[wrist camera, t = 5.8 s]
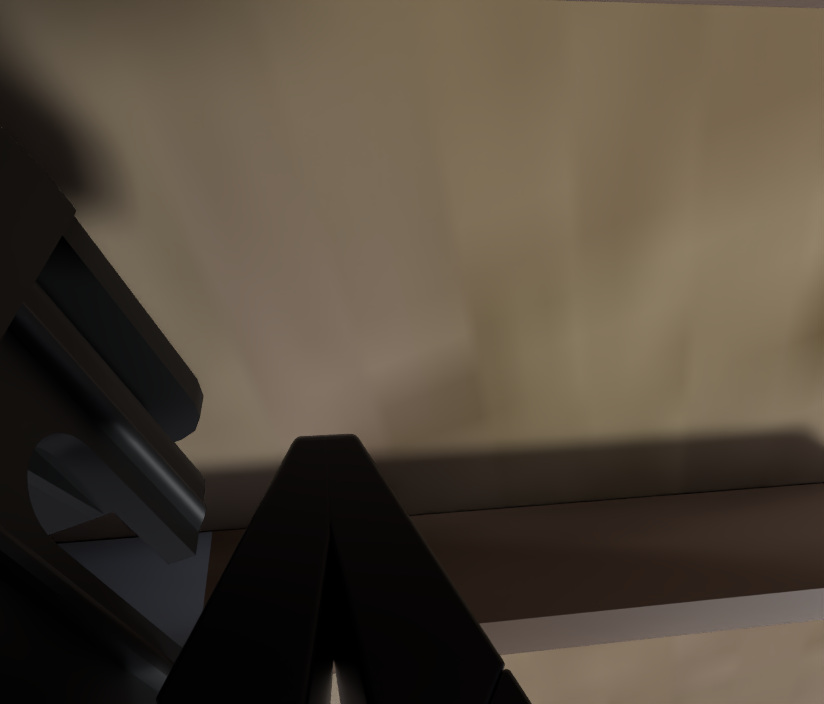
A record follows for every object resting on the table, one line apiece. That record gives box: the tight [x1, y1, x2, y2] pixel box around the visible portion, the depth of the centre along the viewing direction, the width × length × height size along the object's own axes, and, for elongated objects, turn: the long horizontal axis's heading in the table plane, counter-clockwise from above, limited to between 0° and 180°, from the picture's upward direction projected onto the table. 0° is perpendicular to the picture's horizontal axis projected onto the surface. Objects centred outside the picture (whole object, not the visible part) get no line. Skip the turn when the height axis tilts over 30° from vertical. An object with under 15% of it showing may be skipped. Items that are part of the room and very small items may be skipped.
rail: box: [57, 0, 824, 673], centre depth 9 cm, size 12×29×2 cm, turn 87°
